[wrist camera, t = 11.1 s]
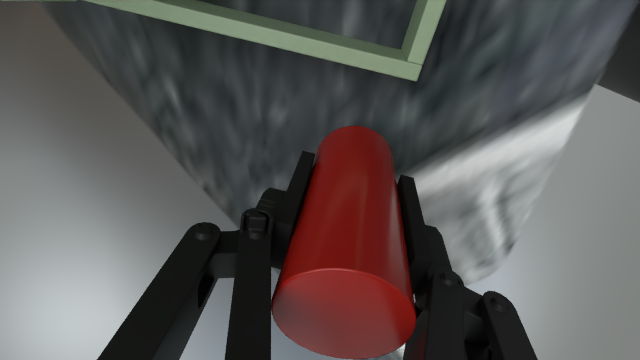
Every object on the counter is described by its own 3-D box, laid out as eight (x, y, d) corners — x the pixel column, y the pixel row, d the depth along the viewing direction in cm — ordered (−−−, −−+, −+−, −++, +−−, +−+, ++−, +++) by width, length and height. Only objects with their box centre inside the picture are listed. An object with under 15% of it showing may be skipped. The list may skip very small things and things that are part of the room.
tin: (403, 136, 20) (441, 292, 10) (379, 199, 22) (388, 372, 12) (325, 117, 20) (279, 253, 10) (310, 182, 22) (263, 341, 12)
